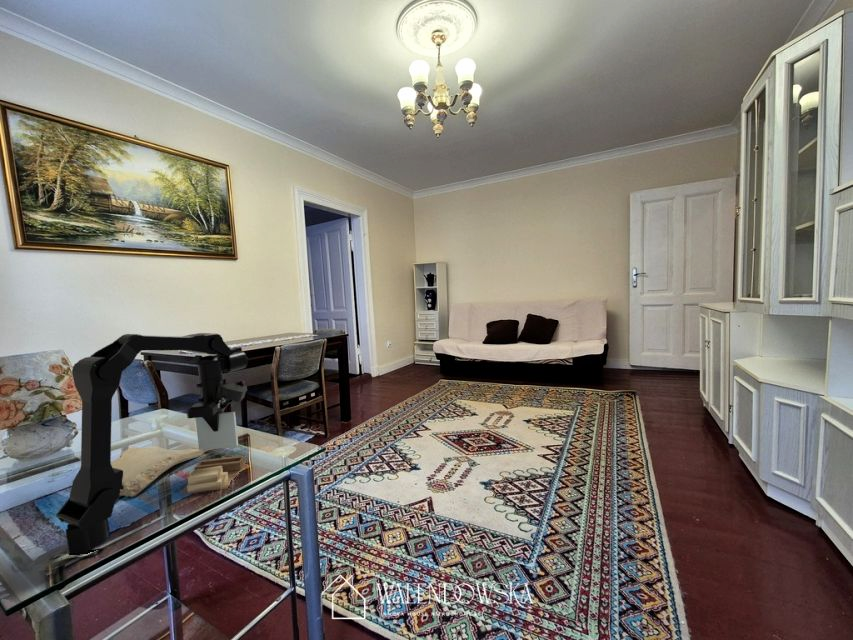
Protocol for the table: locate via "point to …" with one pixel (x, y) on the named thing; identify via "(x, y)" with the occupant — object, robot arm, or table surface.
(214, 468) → the offcut upper
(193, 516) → the table surface
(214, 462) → the rack
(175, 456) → the tan curved tapered piece
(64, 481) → the table surface
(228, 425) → the panel
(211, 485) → the offcut lower
